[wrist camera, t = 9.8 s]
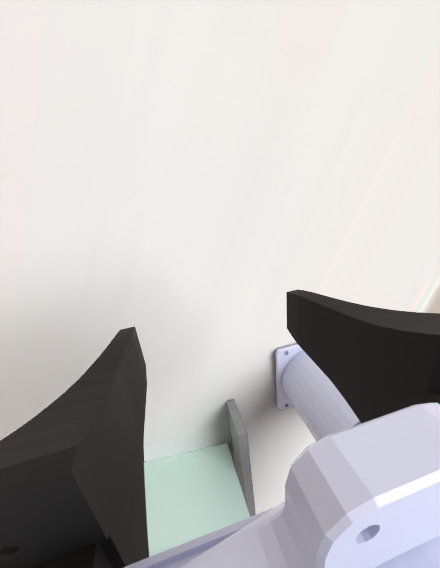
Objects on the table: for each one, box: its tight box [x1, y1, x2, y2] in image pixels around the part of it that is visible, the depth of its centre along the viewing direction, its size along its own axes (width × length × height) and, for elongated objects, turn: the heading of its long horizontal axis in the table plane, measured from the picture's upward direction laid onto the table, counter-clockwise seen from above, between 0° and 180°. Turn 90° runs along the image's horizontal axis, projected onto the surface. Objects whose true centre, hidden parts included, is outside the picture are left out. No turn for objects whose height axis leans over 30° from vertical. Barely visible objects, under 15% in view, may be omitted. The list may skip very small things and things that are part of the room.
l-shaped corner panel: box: [144, 443, 250, 557], centre depth 27 cm, size 12×12×8 cm
